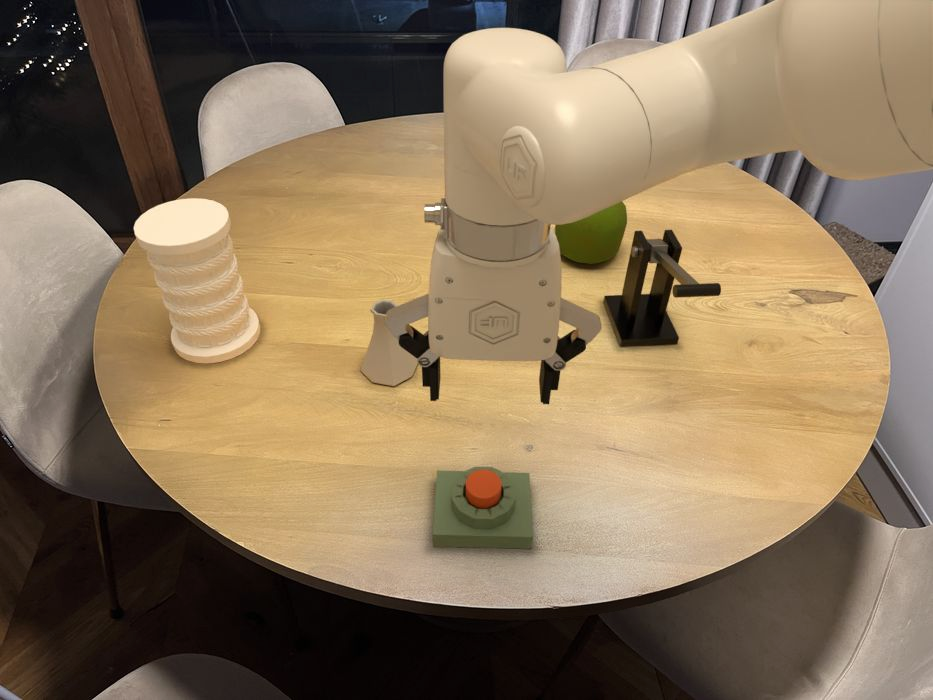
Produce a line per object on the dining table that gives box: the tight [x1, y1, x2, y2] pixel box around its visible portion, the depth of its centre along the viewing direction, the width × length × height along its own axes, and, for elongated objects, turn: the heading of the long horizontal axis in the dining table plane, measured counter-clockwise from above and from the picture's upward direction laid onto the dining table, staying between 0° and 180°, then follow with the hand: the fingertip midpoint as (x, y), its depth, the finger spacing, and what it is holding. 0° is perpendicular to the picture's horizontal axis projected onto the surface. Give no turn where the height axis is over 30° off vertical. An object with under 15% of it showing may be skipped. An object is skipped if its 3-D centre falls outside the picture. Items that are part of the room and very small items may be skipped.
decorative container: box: [133, 197, 261, 364], centre depth 87 cm, size 12×12×18 cm
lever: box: [646, 238, 722, 299], centre depth 82 cm, size 16×5×2 cm, turn 4°
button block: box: [432, 466, 534, 550], centre depth 70 cm, size 10×8×4 cm
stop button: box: [466, 470, 502, 508], centre depth 69 cm, size 4×4×2 cm
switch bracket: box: [603, 229, 683, 347], centre depth 91 cm, size 10×8×14 cm
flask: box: [359, 298, 418, 387], centre depth 85 cm, size 7×7×10 cm
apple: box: [554, 201, 628, 265], centre depth 105 cm, size 11×11×11 cm
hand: (489, 391), depth 59 cm, fingers open, 9 cm apart
